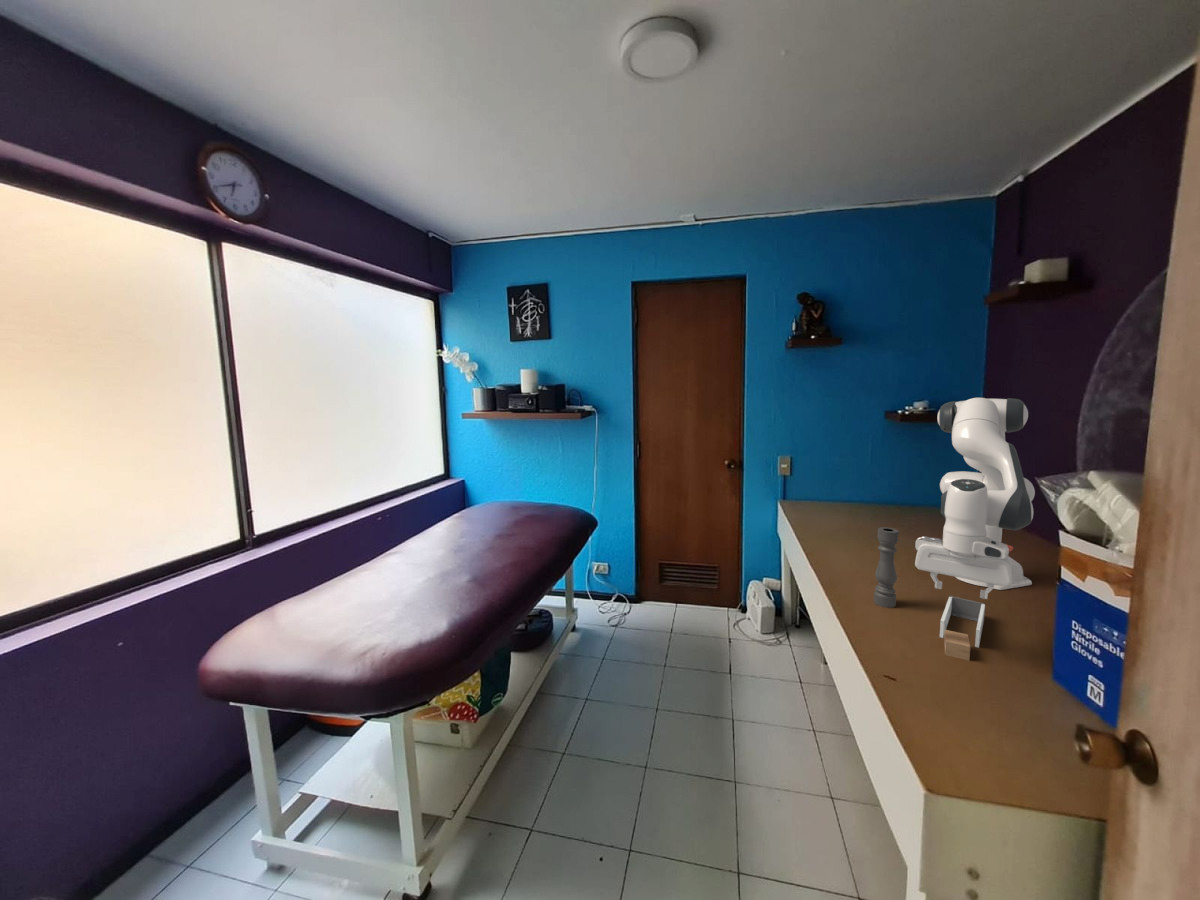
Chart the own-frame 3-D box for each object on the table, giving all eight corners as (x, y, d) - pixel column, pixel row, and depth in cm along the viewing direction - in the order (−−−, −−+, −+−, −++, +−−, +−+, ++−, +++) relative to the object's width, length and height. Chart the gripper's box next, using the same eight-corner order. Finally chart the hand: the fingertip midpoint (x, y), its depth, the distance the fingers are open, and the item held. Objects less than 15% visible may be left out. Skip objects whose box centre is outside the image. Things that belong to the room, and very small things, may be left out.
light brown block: (943, 643, 127) (944, 629, 127) (966, 648, 124) (967, 634, 124) (945, 655, 122) (946, 641, 121) (969, 661, 119) (970, 646, 118)
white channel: (948, 610, 144) (949, 595, 144) (983, 619, 139) (985, 603, 138) (939, 637, 130) (940, 620, 129) (978, 647, 124) (980, 630, 123)
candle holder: (888, 609, 147) (892, 534, 143) (869, 601, 152) (872, 529, 149) (899, 604, 149) (903, 530, 146) (880, 597, 155) (884, 525, 152)
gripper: (913, 537, 124) (911, 586, 126) (1015, 554, 110) (1011, 608, 112) (917, 532, 128) (915, 579, 130) (1016, 547, 114) (1011, 599, 116)
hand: (960, 592), depth 121 cm, fingers open, 8 cm apart
